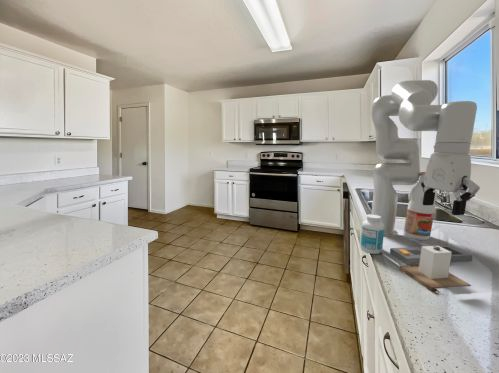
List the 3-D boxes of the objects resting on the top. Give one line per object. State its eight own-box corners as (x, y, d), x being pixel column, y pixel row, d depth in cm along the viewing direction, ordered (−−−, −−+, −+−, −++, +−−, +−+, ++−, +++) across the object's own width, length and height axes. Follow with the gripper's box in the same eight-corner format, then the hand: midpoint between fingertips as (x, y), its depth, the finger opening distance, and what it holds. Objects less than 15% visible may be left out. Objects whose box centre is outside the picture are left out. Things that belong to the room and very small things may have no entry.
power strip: (389, 256, 88) (390, 246, 87) (449, 253, 91) (451, 243, 90) (405, 267, 80) (407, 256, 80) (471, 263, 83) (473, 253, 82)
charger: (418, 270, 75) (422, 244, 74) (434, 269, 76) (438, 243, 75) (430, 278, 71) (434, 251, 70) (447, 277, 72) (452, 250, 70)
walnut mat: (399, 269, 79) (400, 265, 79) (433, 267, 80) (434, 263, 80) (430, 291, 67) (431, 287, 67) (469, 288, 68) (470, 284, 68)
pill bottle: (375, 246, 96) (378, 213, 94) (386, 254, 89) (390, 219, 86) (356, 246, 96) (359, 213, 94) (365, 255, 89) (369, 219, 86)
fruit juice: (410, 231, 111) (421, 170, 106) (433, 239, 103) (446, 174, 98) (398, 235, 107) (408, 171, 102) (421, 243, 99) (434, 175, 93)
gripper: (414, 148, 75) (407, 202, 78) (470, 150, 58) (458, 219, 61) (436, 148, 76) (428, 201, 79) (498, 150, 59) (485, 218, 62)
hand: (441, 209), depth 70 cm, fingers open, 9 cm apart
